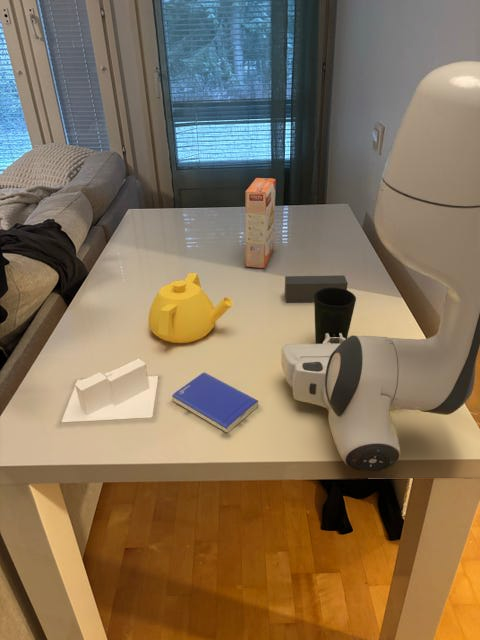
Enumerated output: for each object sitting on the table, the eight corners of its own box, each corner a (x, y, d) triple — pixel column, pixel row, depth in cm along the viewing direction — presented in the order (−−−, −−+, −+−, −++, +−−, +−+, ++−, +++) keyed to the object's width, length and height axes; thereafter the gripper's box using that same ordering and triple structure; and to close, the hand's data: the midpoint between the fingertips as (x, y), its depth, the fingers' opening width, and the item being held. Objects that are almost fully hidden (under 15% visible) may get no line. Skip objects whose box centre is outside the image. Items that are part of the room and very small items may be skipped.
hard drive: (171, 394, 79) (226, 426, 73) (204, 371, 85) (258, 399, 78) (172, 401, 80) (226, 434, 73) (204, 378, 86) (258, 406, 79)
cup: (350, 341, 95) (356, 289, 89) (348, 363, 89) (355, 308, 82) (312, 337, 97) (316, 285, 90) (308, 358, 90) (311, 304, 84)
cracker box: (266, 269, 125) (267, 192, 114) (244, 267, 126) (243, 190, 116) (275, 249, 137) (276, 177, 126) (254, 248, 138) (254, 176, 127)
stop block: (342, 294, 113) (344, 275, 110) (345, 302, 109) (347, 282, 107) (284, 294, 113) (285, 276, 110) (285, 302, 109) (286, 283, 107)
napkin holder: (158, 375, 87) (155, 349, 84) (153, 417, 77) (149, 390, 74) (76, 379, 86) (70, 354, 83) (60, 423, 76) (52, 396, 73)
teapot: (221, 361, 90) (218, 312, 84) (133, 350, 94) (125, 302, 88) (244, 310, 106) (243, 266, 101) (169, 302, 110) (164, 260, 105)
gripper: (416, 367, 73) (391, 321, 85) (286, 369, 73) (279, 322, 85) (409, 398, 76) (386, 349, 88) (284, 399, 76) (278, 350, 88)
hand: (332, 336), depth 86 cm, fingers closed, pressing on cup
